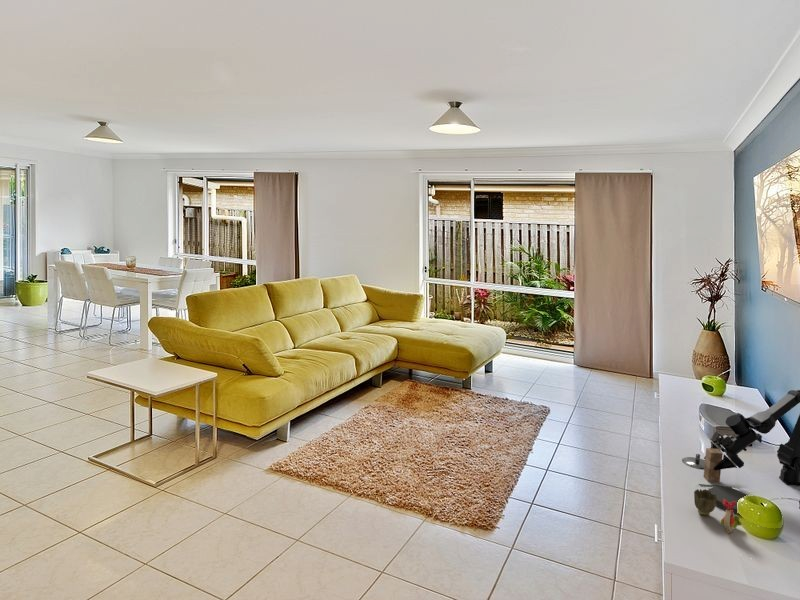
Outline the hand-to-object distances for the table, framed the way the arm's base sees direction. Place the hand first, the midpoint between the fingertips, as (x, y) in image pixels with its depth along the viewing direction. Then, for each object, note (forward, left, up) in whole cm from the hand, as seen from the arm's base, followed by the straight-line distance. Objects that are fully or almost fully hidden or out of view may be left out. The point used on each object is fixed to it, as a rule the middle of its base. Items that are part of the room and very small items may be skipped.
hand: (709, 464), depth 218 cm
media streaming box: (-2, +16, -8) cm, 18 cm away
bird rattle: (+7, +36, -8) cm, 37 cm away
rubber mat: (-1, 0, -8) cm, 8 cm away
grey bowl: (-1, -15, -8) cm, 17 cm away
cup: (+12, +27, -8) cm, 30 cm away
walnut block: (-1, 0, -7) cm, 7 cm away
